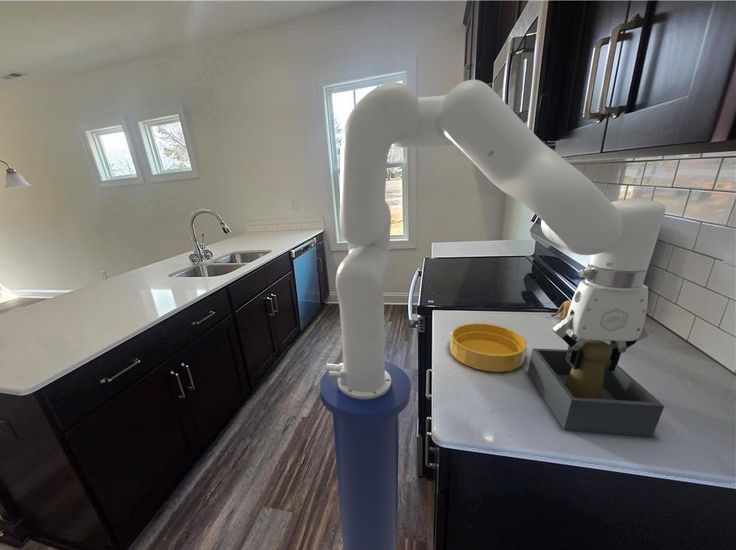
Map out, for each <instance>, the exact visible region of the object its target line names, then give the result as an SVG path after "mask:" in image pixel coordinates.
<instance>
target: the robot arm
mask: <svg viewBox="0 0 736 550" xmlns="http://www.w3.org/2000/svg"><path fill="white" fill-rule="evenodd" d="M345 122H346V123H345V124H344V128H343V130H342V136H341V142H340V173H339V174H340V178H339V229H340V233H341V235H342V237H343V239H344V240H345V241H346V242H347V243H348V254H347V255H346V256H345V257H344V259H343V260H342V261H341V262H340V264H339V266H338V267H337V270H336V275H335V290H336V295H337V300H338V306H339V317H340V331H341V347H342V362H343V363H341V362H339V363H340V364H339V365H336V364H335V363H326V366H325V372H326V371H327V372H329V377H338V386H339V388H340V390H341V391H342V392H343V393H344V394H345V395H347V396H349V397H352V398H355V399H363V400H367V399H374V398H378V397H380V396H382V395H384V394H385V393H387V392H388V390H389V389H390V387H391V377H390V375H389V373H388V372H387V371H385V361H386V360H385V354H386V353H385V300H384V284H385V279H386V276H387V275H386V274H387V273H388V268H389V261H390V245H391V244H390V243H391V226H392V225H391V224H392V213H391V209H390V205H389V204H388V202H387V201H386V185H387V176H388V175H387V173H388V170H387V169H388V168H387V164H388V155H389V152H390V149H391V147H392V148H414V147H417V148H418V147H419V148H420V147H441V146H442V147H443V146H453V145H455V146H456V147H457V148H458V149H459V150H461V152H462V153H463V154H464V155H465V156H466V157H467V158H468V159H469V160H470V161H471V162H472V163H473V164H474V165H475V166H476V167H477V168H478V169H479V170H480V172H481V173H483V174H484V175H485V176H486V178H487V179H488V180H489V181H490V182H491V183H492V184H493V185H494V186H496V187H497V188H498V189H499V190H500V191H502V192H503V193H505V194H506V195H508V196H510V197H512V198H513V199H515V200H516V201H518V202H520V203H521V204H522V205H524V206H525V207H526V208H527V209H529V210H530V211H531V212H532V213H534V215H536V216H537V217H538V218H539V219H540V220H541V221H540V228H541V231H542V233H543V235H544V236H545V237H546V238H547V240H549V241H551V242H553V243H555V244H557V245H558V246H560V247H562V248H564V249H566V250H568V251H570V252H571V253H574V254H577V255H579V256H580V255H581V256H590V259H589V263H588V264H587V266H586V268H585V269H580V270H579V271H578V276H579V278H584V279H582V280H581V281H580V282H579V284H578V286H577V288H576V291H574V294H573V297H572V299H571V301H572V302H571V305H570V308H569V311H568V314H567V316H566V318H565V319H564V320H561V321H560V322H559V323H557V324H556V325H555V326H554V327H553V328H552V331H553V332H554V333H555V334H556V335H557V336H558V337H559V338H560V339H562V340H563V342H565V343H566V344H567V345H568V346H567V349H566V350H567V354H566V361H567V362H568V363H569V365H570V366H571V367H572V368H573V369H576V370H577V369H579V365H580V362H581V358H582V354H583V352H582V351H581V350H580V349H581V347H582V346H583V344H584V343H585V341H586V340H600V341H604V342H609V343H608V344H609V345H610V346H611V348H612V355H611V357H610V358H609V360H607V361H606V362H605V367H606V368H607V369H608V370H609V371H615V368H616V365H619V361H620V358H621V355H622V354H623V353H625V352H627V349H628V348H630V347H631V346H633V345H635V344H636V343H637V342H639V341H641V340H643V339H646V338H647V337H648V336H649V332H648V330H647V329H646V328H645V326H644V325H645V322H646V316H647V311H648V304H649V303H648V302H649V287H648V286H647V285H645V284H644V282H645V279H646V275H647V272H648V269H649V266H650V264H651V259H652V257H653V253H654V250H655V246H656V244H657V242H658V237H659V235H660V232H661V229H662V225H663V221H664V218H665V214H666V207H665V204H663V203H662V202H660V201H657V200H649V199H648V200H647V199H622V200H614V201H610V199H608V198H607V197H606V195H605V194H604V193H603V192H602V190H600V189H599V187H597V186H596V184H594V183H593V181H591V180H590V179H589V178H588V177H587V176H586V175H585V174H583V172H581V171H580V170H579V169H577V168H576V167H575V166H574V165H572V164H571V163H570V162H569V161H567V160H566V159H564V158H563V157H562V156H561V155H559V154H558V153H557V152H556V151H555V150H554V149H552V148H551V147H550V146H548V145H546V144H545V143H544V142H543V141H542V140H541V139H540V138H539V137H538V136H537V135H536V134H535V133H534V132H533V131H532V130H531V129H530V128H529V127H528V126H527V125H526V123H525V122H524V121H523V120H522V119H521V118H520V117H519V116H518V115H517V114H516V113H515V112H514V110H513V109H511V107H510V106H509V105H508V104H507V103H506V102H505V101H504V100H503V99H502V98H501V97H500V96H499V95H498V93H497V92H496V91H495V90H494V89H493V88H492V87H491V86H489V85H488V84H487V83H486V82H484V81H482V80H479V79H467V80H464V81H462V82H460V83H458V84H457V85H456V86H454V87H453V88H452V89H451V90H450V91H448V94H442V95H441V94H440V95H433V96H432V95H431V96H417V94H416V93H415V91H414V90H413V89H412V88H411V87H410V86H408V85H406V84H404V83H402V82H396V81H391V82H387V83H383V84H381V85H379V86H377V87H375V88H373V89H372V90H370V91H369V92H368V93H366V94H365V95H364V96H363V97H362V98H360V100H359V101H358V102H357V103H356V105H354V107H353V109H352V110H351V112H350V113H349V115H348V118H347V120H346V121H345ZM568 330H571V332H570V334H569V333H568V332H567V331H568Z"/></svg>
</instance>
